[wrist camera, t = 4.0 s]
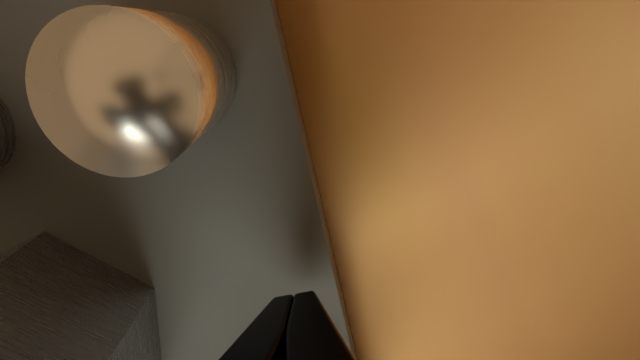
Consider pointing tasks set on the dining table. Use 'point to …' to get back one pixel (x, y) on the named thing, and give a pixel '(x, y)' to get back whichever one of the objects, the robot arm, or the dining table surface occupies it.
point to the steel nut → (72, 306)
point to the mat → (185, 189)
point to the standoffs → (124, 87)
